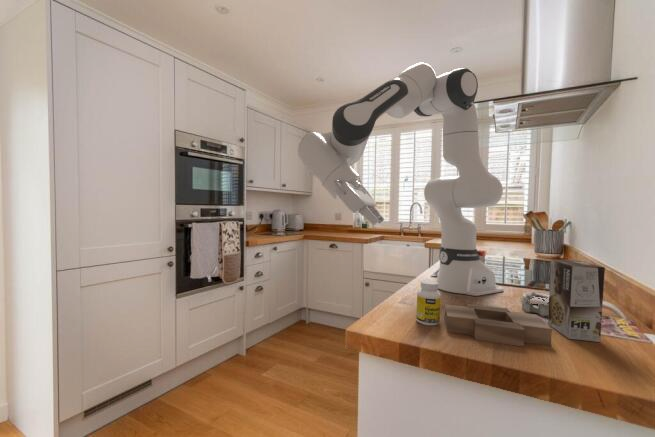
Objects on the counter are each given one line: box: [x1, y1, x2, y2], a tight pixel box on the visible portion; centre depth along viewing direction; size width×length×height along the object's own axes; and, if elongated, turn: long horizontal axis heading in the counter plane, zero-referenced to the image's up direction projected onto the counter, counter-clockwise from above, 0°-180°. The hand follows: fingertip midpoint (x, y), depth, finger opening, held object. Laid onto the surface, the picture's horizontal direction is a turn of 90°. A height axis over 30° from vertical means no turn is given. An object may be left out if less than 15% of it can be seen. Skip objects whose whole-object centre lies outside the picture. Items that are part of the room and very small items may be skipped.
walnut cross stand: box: [443, 303, 553, 347], centre depth 70 cm, size 14×20×4 cm
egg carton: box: [520, 292, 549, 317], centre depth 85 cm, size 11×8×4 cm
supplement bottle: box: [415, 279, 442, 326], centre depth 74 cm, size 5×5×10 cm
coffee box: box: [547, 259, 606, 343], centre depth 69 cm, size 9×6×16 cm
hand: (379, 222), depth 77 cm, fingers open, 8 cm apart
